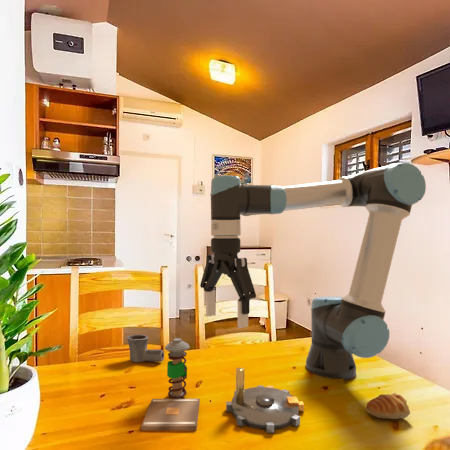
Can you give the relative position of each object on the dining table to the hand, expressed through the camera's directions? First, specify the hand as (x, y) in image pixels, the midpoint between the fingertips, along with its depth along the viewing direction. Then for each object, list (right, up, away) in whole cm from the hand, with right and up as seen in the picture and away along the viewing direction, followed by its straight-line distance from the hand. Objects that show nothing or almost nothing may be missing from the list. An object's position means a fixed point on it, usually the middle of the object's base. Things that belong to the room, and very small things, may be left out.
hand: (225, 321), depth 88 cm
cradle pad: (-13, -20, -7) cm, 25 cm away
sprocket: (+9, -21, -4) cm, 23 cm away
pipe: (-27, -21, +26) cm, 43 cm away
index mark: (+12, -21, +6) cm, 25 cm away
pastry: (+36, -21, -4) cm, 42 cm away
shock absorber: (-13, -21, +2) cm, 24 cm away
